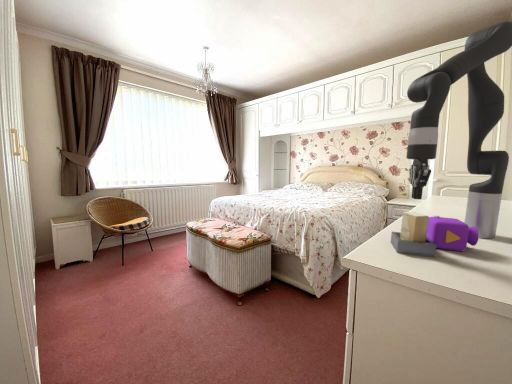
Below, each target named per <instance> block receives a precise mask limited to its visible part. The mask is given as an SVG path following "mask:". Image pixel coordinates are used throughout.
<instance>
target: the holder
mask: <svg viewBox="0 0 512 384" xmlns="http://www.w3.org/2000/svg"><path fill="white" fill-rule="evenodd" d="M400 233H401V231H400V232H399V231H391V235H390V244H391V245H392V247H393V249H394V250H395V252H396V253H399V254H405V255H413V256H421V257H429V258H436V254H437V253H436V250H437V248H436V244H435V243H434V242H433V241H431V240H430V239H429V238H428V237H427V236H426V241H425V243H424V242H415V241H406V240H401V239H400Z"/></svg>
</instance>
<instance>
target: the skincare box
mask: <svg viewBox="0 0 512 384" xmlns="http://www.w3.org/2000/svg"><path fill="white" fill-rule="evenodd" d="M429 217H430V216H429V215H425V214H424V213H419V212H416V211H403V212H402V219H401V227H400V232H401V233H400V239H401V240H406V241H415V242H424V243H425V241H426V234H427V227H428V219H429Z"/></svg>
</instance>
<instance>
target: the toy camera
mask: <svg viewBox="0 0 512 384" xmlns="http://www.w3.org/2000/svg"><path fill="white" fill-rule="evenodd" d="M426 236H427V237H428V238H429V239H430V240H431V241H433V242H434V243H435V244H436V249H441V250H449V251H456V252H458V251H459V252H464V251H465V250H466V249H467V247H468V246H467V245H468V244H469V245H471V246H473V247H474V246H476V245H477V244H478V241H479V238H480V237H479V235H478V230H477V228H476V227H475V226H471V227H468V225H467V224H466V223H465V221H464V222H463V221H462V220H460V219H458V218H453V217H443V216H441V217H440V215H435V214H434V215H432V216H429V219H428V227H427V234H426Z"/></svg>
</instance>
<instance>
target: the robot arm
mask: <svg viewBox="0 0 512 384" xmlns="http://www.w3.org/2000/svg"><path fill="white" fill-rule="evenodd" d="M511 47H512V22H511V21H503V22H499V23H495V24H492V25H490V26H487V27H485V28H482V29H479V30H477V31H474V32H472V33H470V34H469V35H468V37H467V38H466V40H465V45H464V50H462V51H461V52H459V53H457V54H454V55H453V56H451V57H450V58H448V59H446V60H445V61H444V62H443V63H441V64H439V66H437V67H436V68H434V69H432V70H430V71H429V72H426V73H424V74H423V75H421V76H419V77H417V78H416V79H414V80H413V81H412V82H411V83H410V85H409V86H408V88H407V91H406V95H407V98H408V100H409V101H410V102H413V103H417V104H419V103H423V102H425V103H424V104H423V105H422V106H421V107H420V108H417V109H416V110H414V111H413V112H412V114H411V117H410V118H411V119H410V126H409V127H410V128H409V132H408V138H407V149H406V159H407V160H412V163H411V165H410V168H409V171H408V173H409V174H408V175H409V184H410V185H411V187H412V188H411V198H412V199H414V200H422V198H423V188H424V187H426V186H427V184H428V182H429V179H430V176H431V173H432V169H430V165H429V160H435V159H436V158H437V149H438V143H439V141H438V140H439V121H440V115H441V111H442V109H443V107H444V104H445V102H446V100H447V98H448V96H449V92H450V91H451V87H452V85H453V84H455V83H457V81H459V80H460V79H462V78H463V77H465V75H466V77H467V91H468V92H467V96H468V99H467V118H468V119H467V121H468V144H467V145H468V146H467V148H468V149H467V155H466V156H467V158H466V169H467V171H468V173H469V174H471V175H478V176H479V175H480V176H482V175H483V176H490V178H489V179H486V180H484V181H481V182H475V183H471V184H470V185H469V187H468V193H467V194H468V195H467V201H466V202H467V203H466V209H465V210H466V211H465V218H464V223H466V224H467V225H468V227H471V226H475V227H476V228H477V230H478V235H479V238H481V239H495V238H496V234H497V229H498V228H497V227H498V223H499V221H498V220H499V215H500V210H501V209H500V208H501V202H502V196H503V191H504V190H503V189H504V185H505V184H504V183H505V179H506V175H507V171H508V166H509V162H510V160H509V157H510V156H509V155H510V154H509V153H508V152H507V151H506V150H482V146H483V143H484V141H485V139H486V138H487V136H488V135H489V133H490V132H491V131H492V130H493V129H494V128H495V127H496V125H498V123H499V122H500V121H501V119H502V118H503V116H504V113H505V94H504V92H503V90H502V88H500V86H499V85H497V83H496V82H495V81H494V80H493V79H492V78H491V77H490V75H489V74H488V72H487V69H486V65H485V63H486V62H488V61H490V60H492V59H493V58H495V57H497V56H499V55H502V54H504V53H506V52H507V51H508V50H509V49H511Z"/></svg>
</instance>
